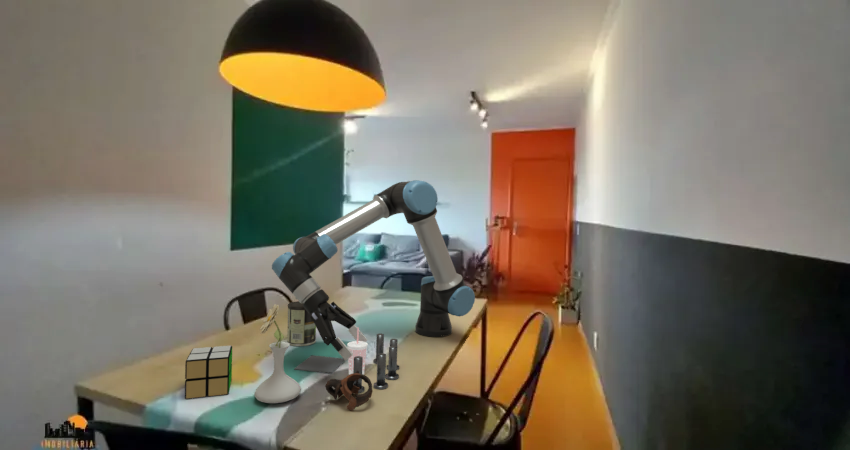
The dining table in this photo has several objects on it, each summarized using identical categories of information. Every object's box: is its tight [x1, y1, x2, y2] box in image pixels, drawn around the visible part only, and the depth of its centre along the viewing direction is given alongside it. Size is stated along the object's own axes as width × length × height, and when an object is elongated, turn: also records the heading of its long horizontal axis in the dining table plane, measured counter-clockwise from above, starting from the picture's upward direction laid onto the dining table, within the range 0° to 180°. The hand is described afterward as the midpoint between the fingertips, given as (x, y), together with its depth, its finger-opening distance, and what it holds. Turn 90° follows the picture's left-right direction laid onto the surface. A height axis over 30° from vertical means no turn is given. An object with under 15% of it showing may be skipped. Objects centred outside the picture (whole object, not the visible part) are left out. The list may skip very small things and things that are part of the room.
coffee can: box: [286, 300, 317, 347], centre depth 152 cm, size 10×10×14 cm
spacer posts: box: [353, 333, 400, 394], centre depth 123 cm, size 26×11×9 cm, turn 170°
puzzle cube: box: [184, 345, 233, 400], centre depth 110 cm, size 10×10×10 cm
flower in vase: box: [253, 304, 302, 404], centre depth 106 cm, size 13×11×25 cm
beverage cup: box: [346, 326, 368, 375], centre depth 124 cm, size 6×6×14 cm
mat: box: [294, 354, 346, 375], centre depth 131 cm, size 12×12×1 cm
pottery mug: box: [324, 373, 374, 412], centre depth 105 cm, size 12×10×8 cm
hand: (357, 350), depth 124 cm, fingers open, 13 cm apart
